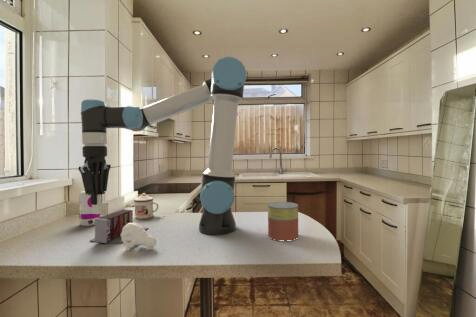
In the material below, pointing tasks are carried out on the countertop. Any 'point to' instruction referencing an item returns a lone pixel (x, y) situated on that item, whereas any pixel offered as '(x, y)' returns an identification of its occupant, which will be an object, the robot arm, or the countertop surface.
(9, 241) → the countertop surface
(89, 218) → the supplement can
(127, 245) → the white irregular piece
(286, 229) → the canned food
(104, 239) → the supplement box
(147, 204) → the teacup with lid
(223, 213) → the robot arm
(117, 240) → the mat
